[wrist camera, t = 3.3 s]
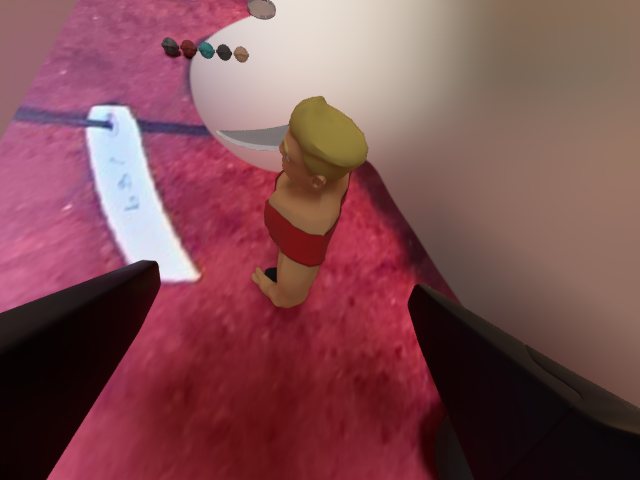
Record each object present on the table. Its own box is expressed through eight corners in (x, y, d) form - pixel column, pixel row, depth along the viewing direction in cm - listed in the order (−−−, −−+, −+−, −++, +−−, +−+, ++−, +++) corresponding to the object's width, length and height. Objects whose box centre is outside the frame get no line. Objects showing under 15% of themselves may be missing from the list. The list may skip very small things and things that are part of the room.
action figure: (288, 197, 22) (318, -14, 8) (326, 211, 23) (417, 29, 9) (246, 302, 19) (179, 243, 5) (291, 317, 19) (347, 300, 5)
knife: (217, 155, 22) (213, 126, 23) (218, 159, 23) (214, 130, 23) (359, 141, 25) (352, 115, 25) (358, 144, 25) (350, 119, 26)
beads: (163, 38, 25) (165, 55, 25) (157, 34, 23) (160, 52, 24) (248, 49, 26) (249, 64, 27) (248, 45, 25) (248, 61, 25)
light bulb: (587, 400, 17) (609, 612, 10) (511, 416, 22) (492, 571, 15) (497, 333, 19) (467, 477, 12) (444, 361, 23) (401, 478, 17)
